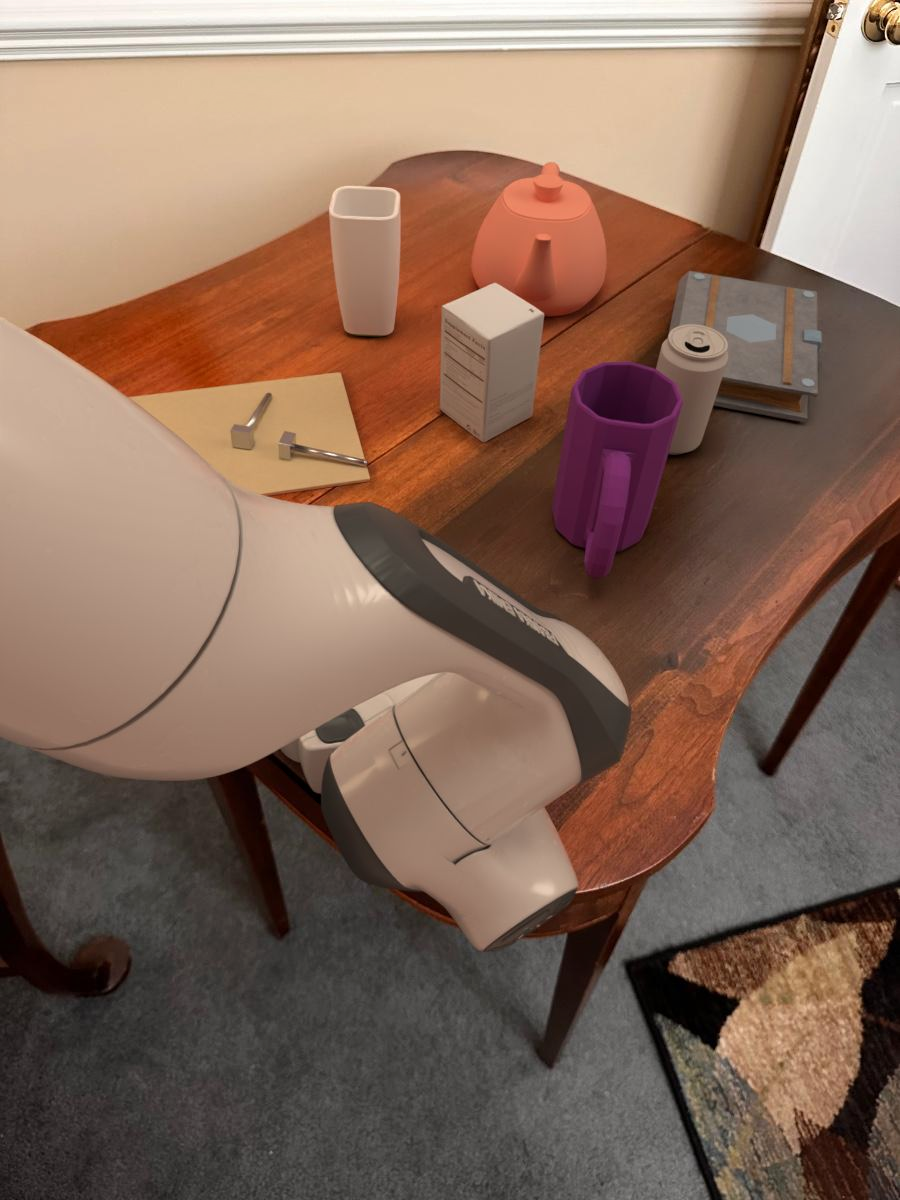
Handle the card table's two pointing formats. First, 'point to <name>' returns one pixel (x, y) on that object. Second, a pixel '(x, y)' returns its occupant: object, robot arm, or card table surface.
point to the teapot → (543, 244)
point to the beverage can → (693, 378)
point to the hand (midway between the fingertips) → (347, 591)
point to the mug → (613, 458)
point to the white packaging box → (489, 360)
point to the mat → (268, 431)
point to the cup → (366, 257)
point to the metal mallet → (311, 451)
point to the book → (757, 340)
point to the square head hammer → (248, 427)
